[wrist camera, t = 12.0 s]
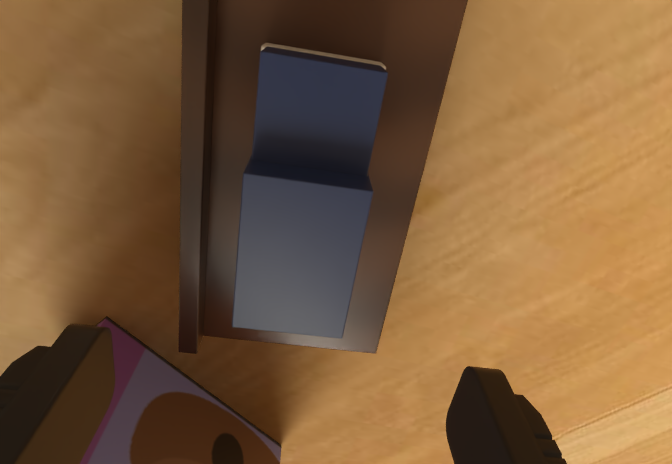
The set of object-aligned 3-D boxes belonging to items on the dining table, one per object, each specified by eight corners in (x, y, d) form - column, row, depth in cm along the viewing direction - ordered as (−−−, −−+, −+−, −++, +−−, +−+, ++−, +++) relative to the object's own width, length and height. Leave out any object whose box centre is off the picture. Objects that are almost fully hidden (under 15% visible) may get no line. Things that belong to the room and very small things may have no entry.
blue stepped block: (265, 42, 19) (248, 53, 14) (382, 62, 19) (400, 79, 15) (244, 282, 24) (227, 345, 20) (337, 293, 25) (340, 357, 20)
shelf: (220, -70, 21) (182, -98, 15) (445, -26, 22) (489, -37, 17) (205, 285, 30) (178, 352, 24) (367, 303, 31) (379, 372, 25)
